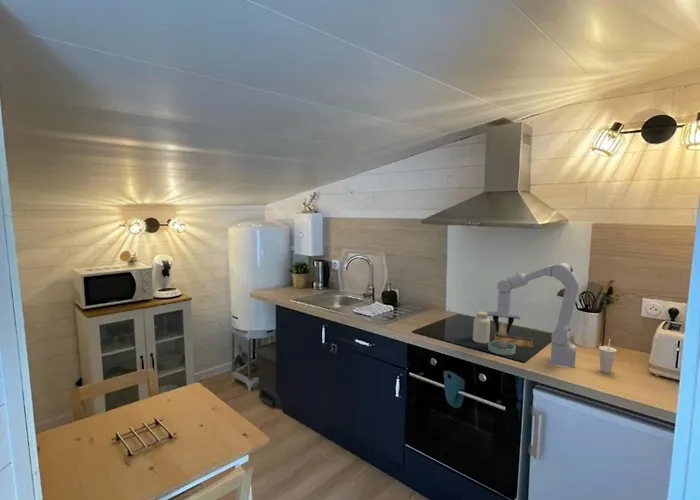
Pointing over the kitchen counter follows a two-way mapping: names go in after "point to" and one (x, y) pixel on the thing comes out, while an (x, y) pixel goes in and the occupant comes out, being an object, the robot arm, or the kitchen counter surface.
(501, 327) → the pebble
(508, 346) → the bowl
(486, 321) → the pill bottle
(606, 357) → the smoothie
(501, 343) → the pebble
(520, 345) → the tray
